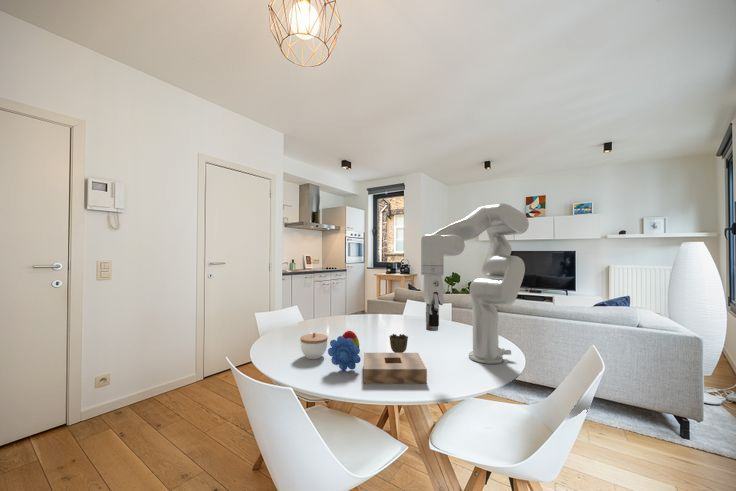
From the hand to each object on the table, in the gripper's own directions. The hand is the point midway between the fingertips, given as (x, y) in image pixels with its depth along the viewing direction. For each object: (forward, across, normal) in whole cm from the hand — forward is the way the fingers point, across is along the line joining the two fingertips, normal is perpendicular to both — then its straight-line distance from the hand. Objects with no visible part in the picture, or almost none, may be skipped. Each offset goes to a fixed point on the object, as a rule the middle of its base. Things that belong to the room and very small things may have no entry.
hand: (432, 324), depth 102 cm
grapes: (+18, +4, +30) cm, 35 cm away
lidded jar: (+18, +19, +43) cm, 50 cm away
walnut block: (+17, +2, +13) cm, 22 cm away
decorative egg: (+18, +20, +29) cm, 39 cm away
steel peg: (+2, 0, 0) cm, 2 cm away
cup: (+17, +20, +9) cm, 28 cm away
